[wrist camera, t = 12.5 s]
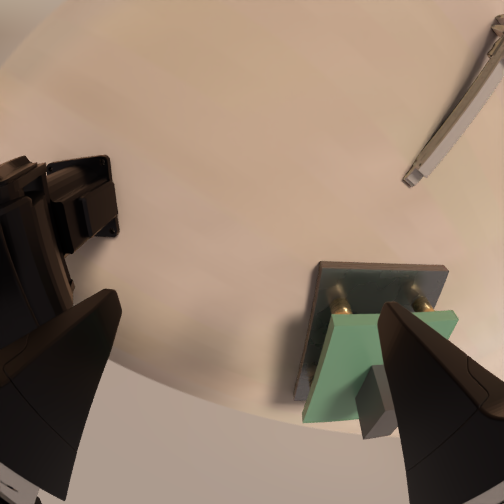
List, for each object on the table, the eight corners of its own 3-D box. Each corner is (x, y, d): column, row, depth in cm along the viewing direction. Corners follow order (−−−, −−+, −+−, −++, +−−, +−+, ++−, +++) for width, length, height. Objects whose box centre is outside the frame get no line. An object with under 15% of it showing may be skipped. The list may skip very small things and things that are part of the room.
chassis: (293, 393, 30) (295, 422, 27) (320, 261, 22) (329, 292, 18) (386, 387, 30) (393, 413, 26) (444, 265, 21) (465, 290, 18)
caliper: (494, 15, 10) (538, 8, 4) (501, 23, 10) (546, 19, 4) (401, 178, 18) (445, 207, 13) (410, 186, 19) (455, 217, 13)
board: (301, 413, 26) (305, 461, 21) (331, 314, 19) (347, 379, 14) (396, 404, 25) (407, 446, 20) (452, 310, 19) (483, 358, 14)
